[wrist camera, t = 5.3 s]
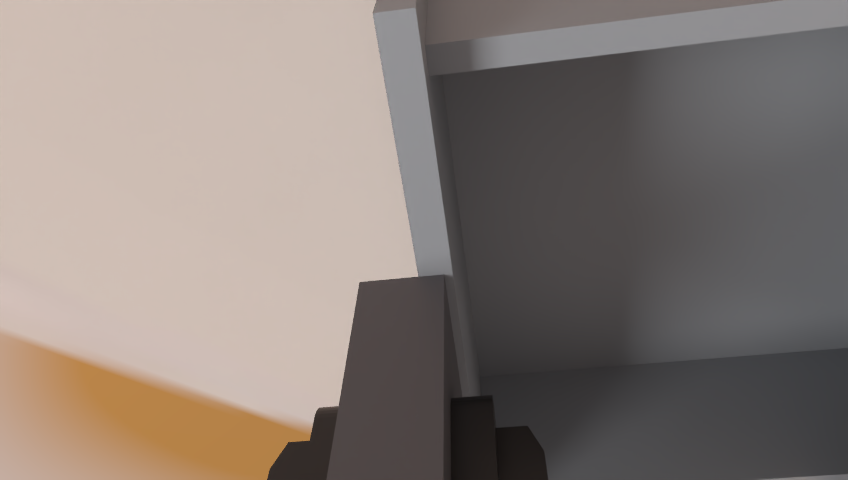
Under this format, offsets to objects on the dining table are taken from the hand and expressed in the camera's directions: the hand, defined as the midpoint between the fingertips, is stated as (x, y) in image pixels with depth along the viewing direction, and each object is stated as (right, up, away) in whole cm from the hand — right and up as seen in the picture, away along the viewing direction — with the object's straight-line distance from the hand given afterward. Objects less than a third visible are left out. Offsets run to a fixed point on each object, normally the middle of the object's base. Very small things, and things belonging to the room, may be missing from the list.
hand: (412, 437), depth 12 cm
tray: (+6, +5, +5) cm, 9 cm away
